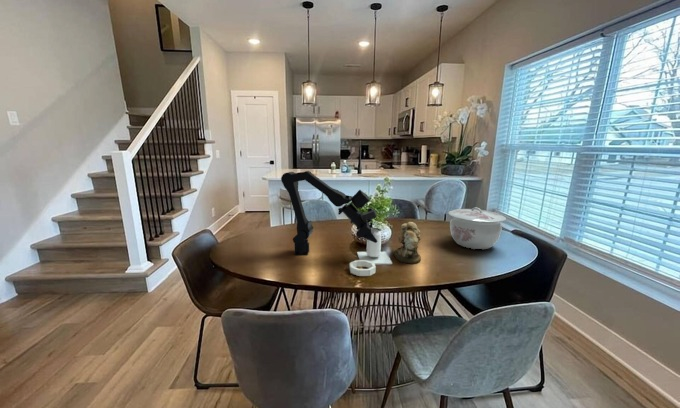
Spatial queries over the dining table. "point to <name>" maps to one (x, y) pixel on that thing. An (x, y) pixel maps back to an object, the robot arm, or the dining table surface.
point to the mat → (375, 258)
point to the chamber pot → (475, 227)
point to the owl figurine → (408, 244)
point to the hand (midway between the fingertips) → (377, 240)
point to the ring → (362, 271)
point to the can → (374, 244)
